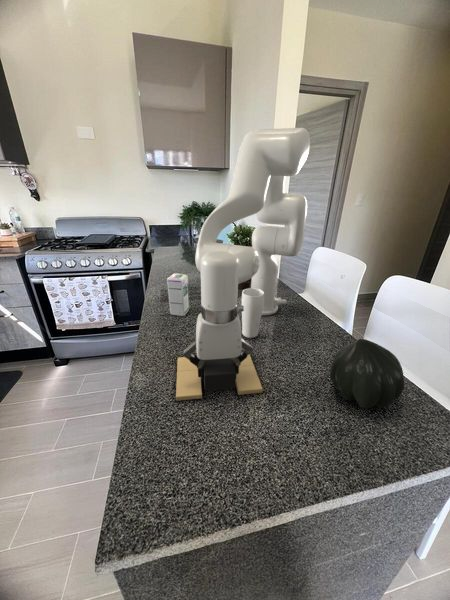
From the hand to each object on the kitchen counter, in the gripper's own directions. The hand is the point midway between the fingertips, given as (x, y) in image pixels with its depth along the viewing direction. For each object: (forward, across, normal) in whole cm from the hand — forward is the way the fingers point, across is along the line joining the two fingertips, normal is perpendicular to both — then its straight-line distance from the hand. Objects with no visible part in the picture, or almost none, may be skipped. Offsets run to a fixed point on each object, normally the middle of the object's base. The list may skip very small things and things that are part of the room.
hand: (218, 376), depth 60 cm
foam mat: (+2, 0, -3) cm, 4 cm away
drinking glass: (+2, -13, -21) cm, 25 cm away
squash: (+3, -33, +7) cm, 34 cm away
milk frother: (+2, -7, -99) cm, 99 cm away
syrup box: (+2, +10, -39) cm, 40 cm away
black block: (+1, 0, 0) cm, 1 cm away
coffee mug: (+2, -21, -62) cm, 65 cm away
